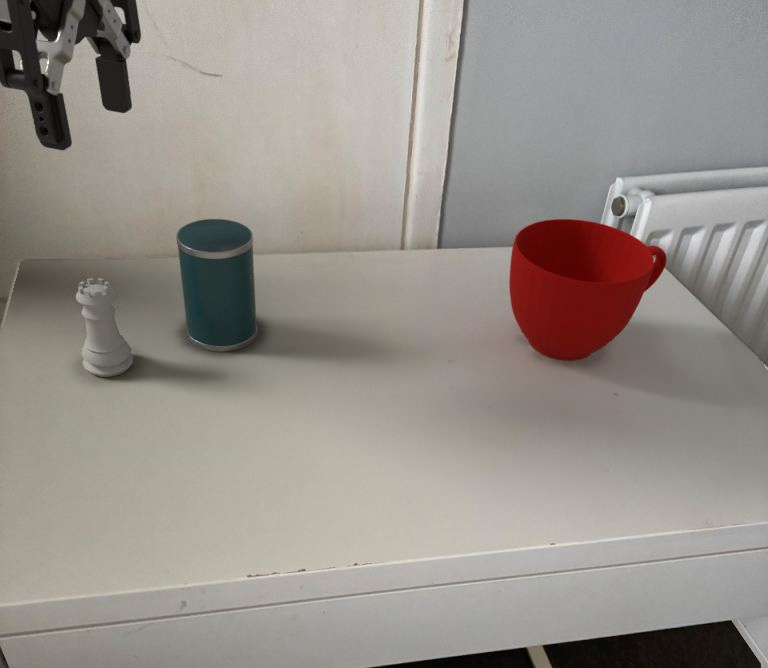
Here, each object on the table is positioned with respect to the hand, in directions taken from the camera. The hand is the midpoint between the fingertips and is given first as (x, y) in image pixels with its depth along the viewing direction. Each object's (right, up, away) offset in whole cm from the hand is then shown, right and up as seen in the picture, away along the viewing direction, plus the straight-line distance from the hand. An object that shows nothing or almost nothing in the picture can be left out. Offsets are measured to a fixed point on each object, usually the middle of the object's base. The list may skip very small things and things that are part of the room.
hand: (88, 128), depth 63 cm
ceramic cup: (+42, -12, +22) cm, 49 cm away
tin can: (+7, -12, +18) cm, 23 cm away
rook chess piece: (-3, -16, +13) cm, 21 cm away
